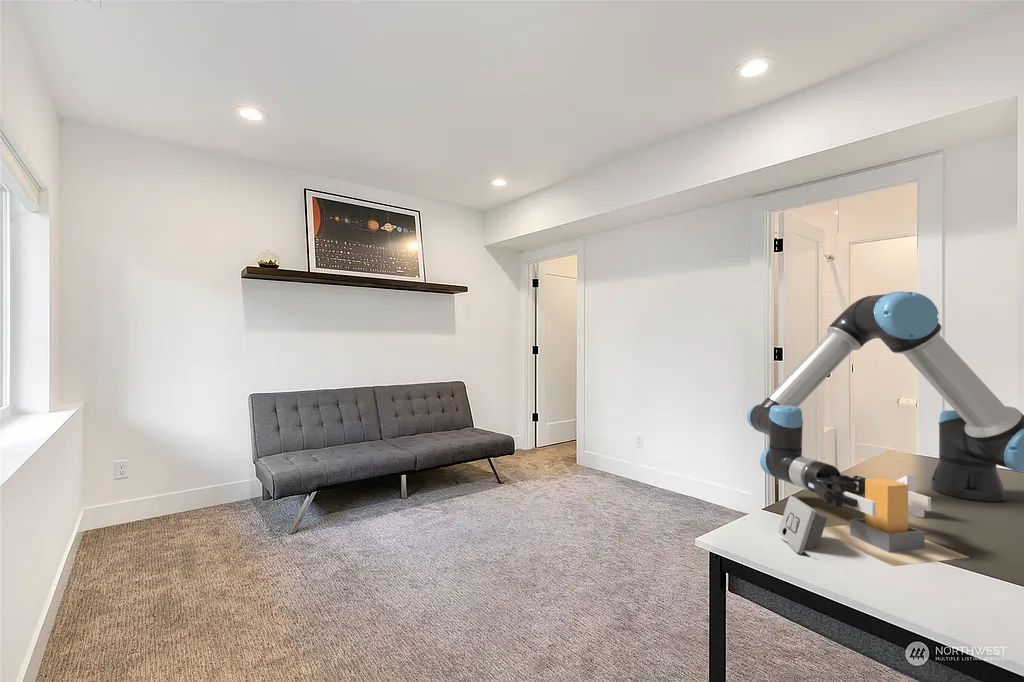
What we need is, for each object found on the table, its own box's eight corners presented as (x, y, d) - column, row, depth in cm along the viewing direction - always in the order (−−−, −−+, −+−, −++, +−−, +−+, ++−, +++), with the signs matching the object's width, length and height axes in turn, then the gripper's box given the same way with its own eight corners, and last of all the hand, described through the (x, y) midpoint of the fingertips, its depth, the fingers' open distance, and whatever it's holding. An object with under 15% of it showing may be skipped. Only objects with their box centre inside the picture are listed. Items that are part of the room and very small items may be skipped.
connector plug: (884, 533, 103) (885, 477, 103) (907, 543, 98) (908, 484, 98) (864, 535, 102) (865, 478, 102) (887, 545, 97) (887, 486, 97)
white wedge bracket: (918, 512, 113) (907, 475, 117) (896, 520, 121) (886, 484, 125) (936, 513, 112) (924, 475, 116) (913, 521, 120) (903, 485, 125)
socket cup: (883, 531, 105) (883, 516, 105) (924, 548, 97) (924, 531, 96) (850, 534, 103) (850, 519, 103) (888, 552, 95) (889, 535, 95)
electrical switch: (776, 536, 105) (781, 494, 105) (801, 539, 105) (806, 497, 104) (797, 555, 96) (803, 509, 96) (825, 559, 95) (830, 512, 95)
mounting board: (880, 526, 110) (880, 522, 110) (969, 562, 93) (969, 557, 93) (813, 532, 107) (813, 528, 107) (892, 571, 89) (892, 565, 89)
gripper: (858, 488, 120) (951, 520, 99) (770, 495, 115) (849, 530, 94) (858, 458, 120) (952, 484, 99) (770, 463, 115) (850, 491, 94)
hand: (902, 506), depth 97 cm, fingers open, 13 cm apart
